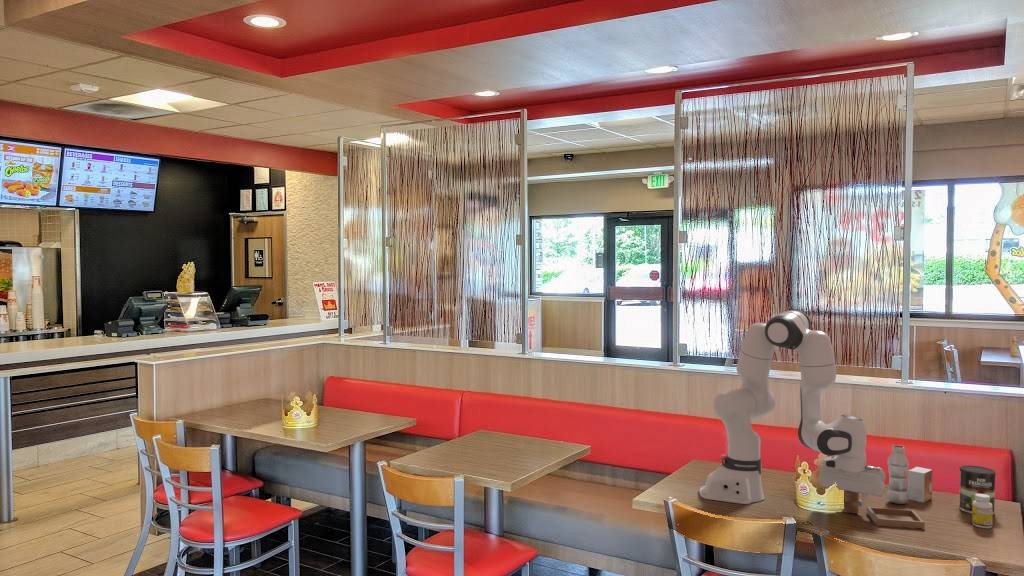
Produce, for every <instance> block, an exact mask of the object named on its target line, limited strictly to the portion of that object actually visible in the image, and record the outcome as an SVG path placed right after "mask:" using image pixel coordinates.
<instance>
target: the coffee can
mask: <svg viewBox="0 0 1024 576" xmlns="http://www.w3.org/2000/svg"><path fill="white" fill-rule="evenodd" d="M996 474H997V472H996V471H995V470H993V469H992V468H989V467H983V466H980V465H979V466H978V465H961V466H959V499H958V500H959V505H958V508H959V510H961V511H962V512H965V513H968V514H971V515H972V504H973V501H975V500H976V499H975V494H986V495H989V496H990V501H989V502H990V503H991V504H992V516H993V515H995V502H996V500H995V495H996V494H995V493H996Z"/></svg>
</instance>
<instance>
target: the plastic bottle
mask: <svg viewBox="0 0 1024 576" xmlns="http://www.w3.org/2000/svg"><path fill="white" fill-rule="evenodd" d="M891 452H892V453H891V454H890V455H889V456H888V458H887V466H888V478H889V479H888V480H889V481H888V489H887V493H886V495H887V496H886V497H887V499H888V501H889V502H890V503H893V504H896V505H898V504H899V505H905V504H907V503H908V501H909V500H908V499H909V495H908V470H909V465H910V462H909V460H908V458H907V456H906V455H905V453H906V451H905V446H904V445H899V444H897V445H896V444H893V445H892V449H891Z"/></svg>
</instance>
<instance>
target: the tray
mask: <svg viewBox="0 0 1024 576" xmlns="http://www.w3.org/2000/svg"><path fill="white" fill-rule="evenodd" d="M866 514H867V515H868V516H869V518H870V519H871V520H872V522H873V523H874V524H875V526H880V527H889V528H890V527H891V528H902V527H908V528H907V529H915V528H923V529H922V530H925V529H926V528H925V521H924V520H923V519H922V518H921V517H920V516H919V514H917V512H916V511H914V510H913V509H906V508H891V507H878V506H877V507H876V506H867V507H866Z"/></svg>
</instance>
